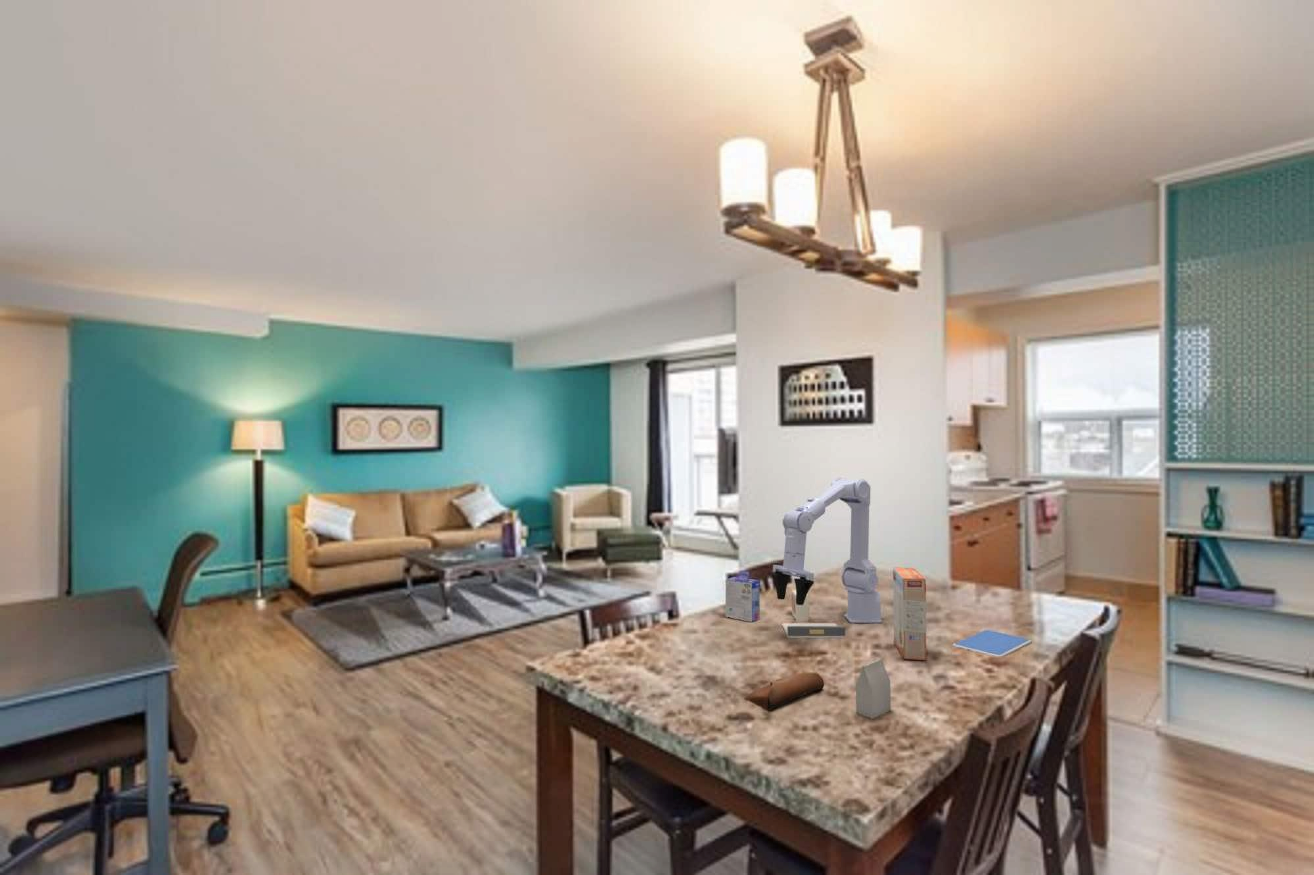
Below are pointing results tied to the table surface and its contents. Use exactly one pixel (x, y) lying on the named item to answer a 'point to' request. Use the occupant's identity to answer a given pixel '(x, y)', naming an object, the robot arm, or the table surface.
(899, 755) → the table surface
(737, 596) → the ink cartridge box
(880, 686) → the grey milk carton
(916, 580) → the cracker box
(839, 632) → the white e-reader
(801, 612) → the carton
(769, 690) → the sunglasses case
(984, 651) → the tablet computer
